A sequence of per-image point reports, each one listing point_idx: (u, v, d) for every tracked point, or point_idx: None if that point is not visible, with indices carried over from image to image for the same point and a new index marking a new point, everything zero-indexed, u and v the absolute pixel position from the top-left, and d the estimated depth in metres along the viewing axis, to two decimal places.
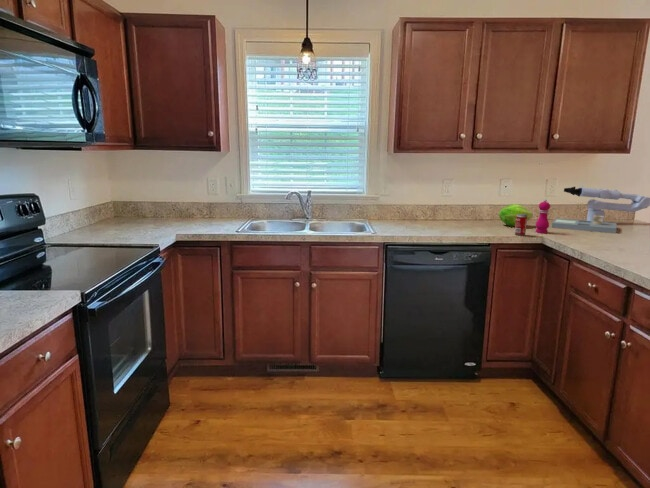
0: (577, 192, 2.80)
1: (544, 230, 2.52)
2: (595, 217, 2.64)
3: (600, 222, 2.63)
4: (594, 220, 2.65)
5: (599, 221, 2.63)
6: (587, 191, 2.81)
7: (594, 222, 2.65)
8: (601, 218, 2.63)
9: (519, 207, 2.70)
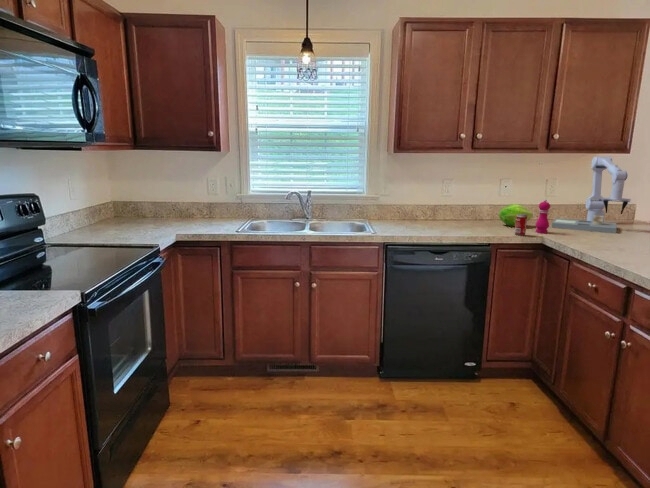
0: None
1: (544, 230, 2.52)
2: (595, 217, 2.64)
3: (600, 222, 2.63)
4: (594, 220, 2.65)
5: (599, 221, 2.63)
6: None
7: (594, 222, 2.65)
8: (601, 218, 2.63)
9: (519, 207, 2.70)
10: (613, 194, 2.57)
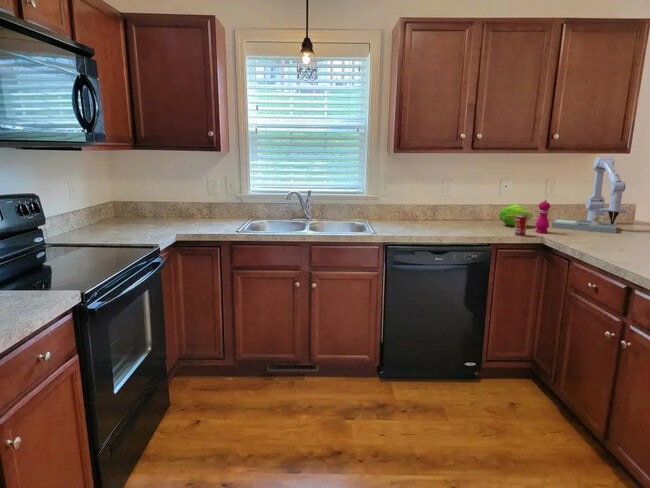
0: None
1: (544, 230, 2.52)
2: (595, 217, 2.64)
3: (600, 222, 2.63)
4: (594, 220, 2.65)
5: (599, 221, 2.63)
6: None
7: (594, 222, 2.65)
8: (601, 218, 2.63)
9: (519, 207, 2.70)
10: (611, 205, 2.59)
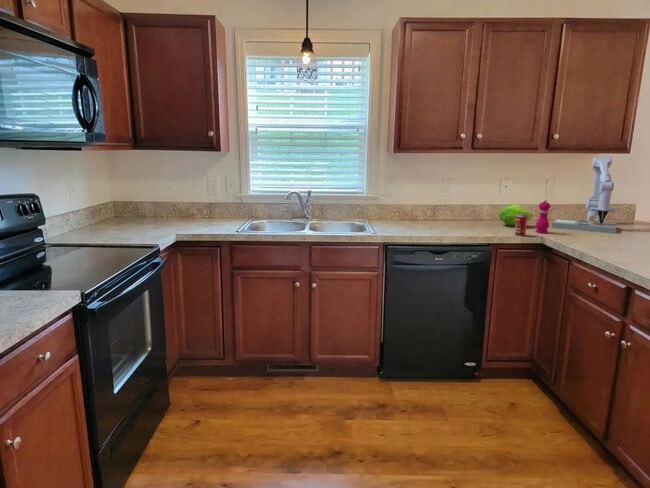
0: None
1: (544, 230, 2.52)
2: (590, 217, 2.66)
3: (595, 222, 2.65)
4: (589, 220, 2.66)
5: (595, 221, 2.65)
6: (609, 204, 2.60)
7: (589, 222, 2.66)
8: (596, 218, 2.64)
9: (519, 207, 2.70)
10: (600, 204, 2.62)
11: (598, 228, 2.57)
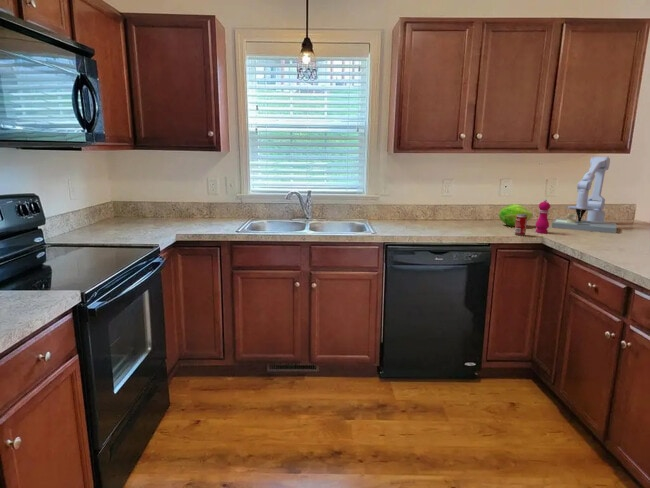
0: None
1: (544, 230, 2.52)
2: (569, 215, 2.71)
3: (574, 220, 2.70)
4: (568, 218, 2.72)
5: (573, 219, 2.71)
6: (586, 202, 2.67)
7: (568, 220, 2.72)
8: (574, 216, 2.70)
9: (519, 207, 2.70)
10: (578, 203, 2.68)
11: (598, 228, 2.57)
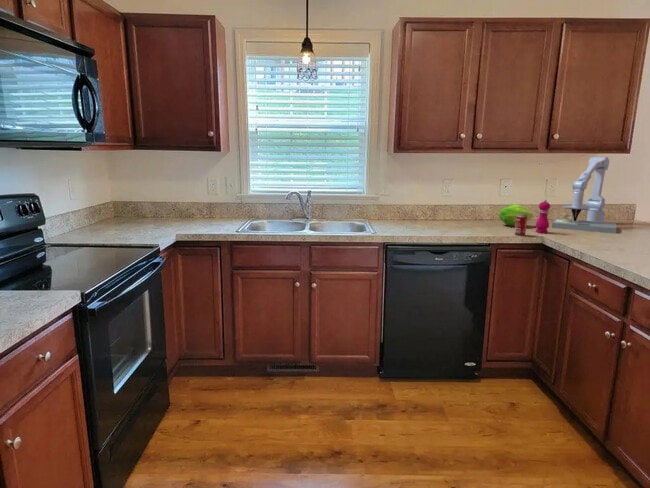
0: None
1: (544, 230, 2.52)
2: (564, 215, 2.73)
3: (569, 220, 2.72)
4: (564, 218, 2.73)
5: (569, 219, 2.72)
6: (582, 202, 2.68)
7: (564, 220, 2.73)
8: (570, 216, 2.71)
9: (519, 207, 2.70)
10: (574, 203, 2.69)
11: (598, 228, 2.57)
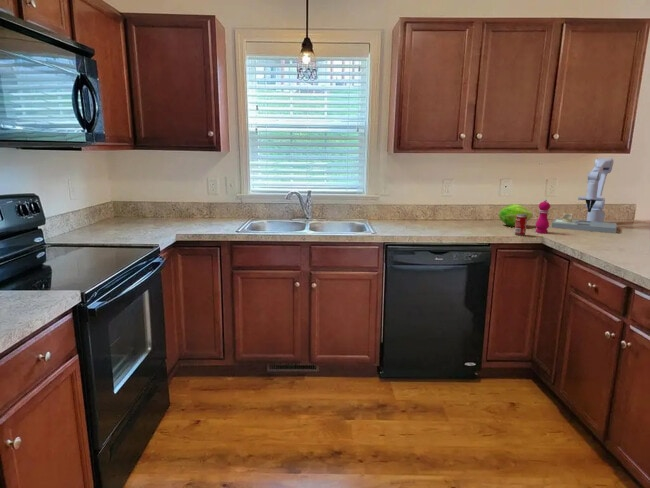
0: None
1: (544, 230, 2.52)
2: (564, 215, 2.73)
3: (569, 220, 2.72)
4: (564, 218, 2.73)
5: (569, 219, 2.72)
6: (596, 193, 2.69)
7: (564, 220, 2.73)
8: (570, 216, 2.71)
9: (519, 207, 2.70)
10: (588, 193, 2.71)
11: (598, 228, 2.57)
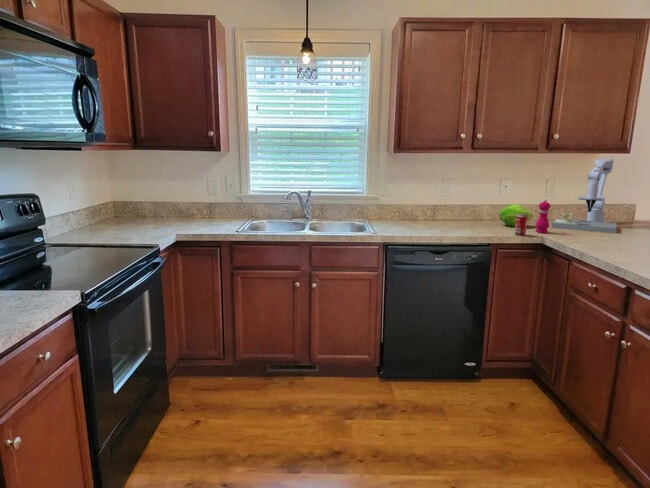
0: None
1: (544, 230, 2.52)
2: (564, 215, 2.73)
3: (569, 220, 2.72)
4: (564, 218, 2.73)
5: (569, 219, 2.72)
6: (597, 193, 2.70)
7: (564, 220, 2.73)
8: (570, 216, 2.71)
9: (519, 207, 2.70)
10: (588, 193, 2.71)
11: (598, 228, 2.57)
